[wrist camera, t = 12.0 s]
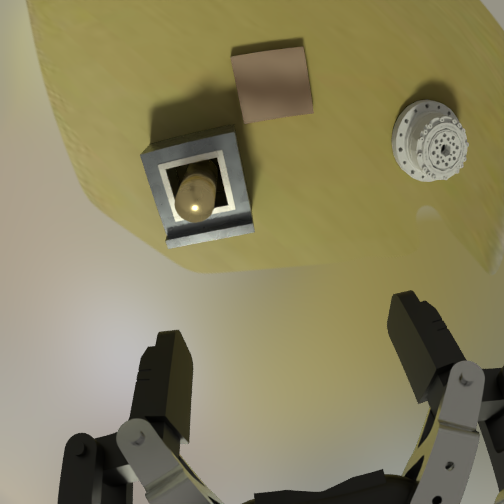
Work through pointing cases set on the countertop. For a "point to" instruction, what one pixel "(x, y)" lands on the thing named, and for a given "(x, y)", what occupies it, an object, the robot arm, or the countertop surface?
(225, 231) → the grey square frame
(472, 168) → the countertop surface
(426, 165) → the mechanical component
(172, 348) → the robot arm
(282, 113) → the brown square panel
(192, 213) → the translucent brown rounded cylinder
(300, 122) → the countertop surface
